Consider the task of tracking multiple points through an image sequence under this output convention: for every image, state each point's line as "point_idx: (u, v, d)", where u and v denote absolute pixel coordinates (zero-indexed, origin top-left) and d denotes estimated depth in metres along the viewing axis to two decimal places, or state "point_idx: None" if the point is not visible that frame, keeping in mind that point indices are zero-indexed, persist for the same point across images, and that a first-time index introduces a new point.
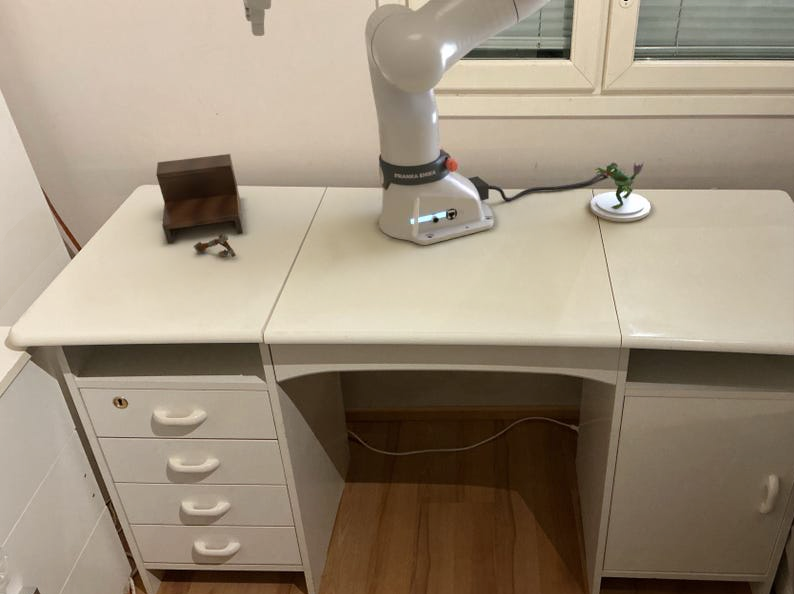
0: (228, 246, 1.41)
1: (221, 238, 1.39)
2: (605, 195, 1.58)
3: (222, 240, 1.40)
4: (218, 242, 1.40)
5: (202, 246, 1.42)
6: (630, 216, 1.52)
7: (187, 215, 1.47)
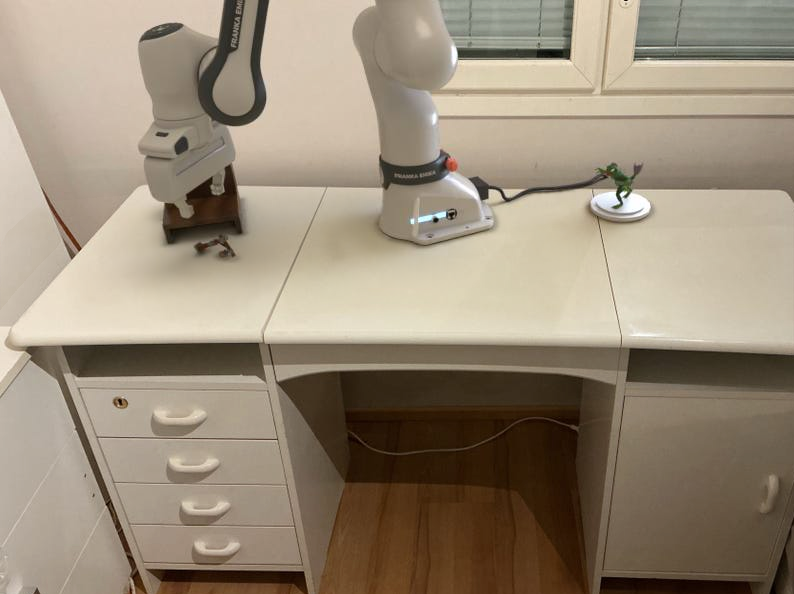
0: (228, 246, 1.41)
1: (221, 238, 1.39)
2: (605, 195, 1.58)
3: (222, 240, 1.40)
4: (218, 242, 1.40)
5: (202, 246, 1.42)
6: (630, 216, 1.52)
7: None
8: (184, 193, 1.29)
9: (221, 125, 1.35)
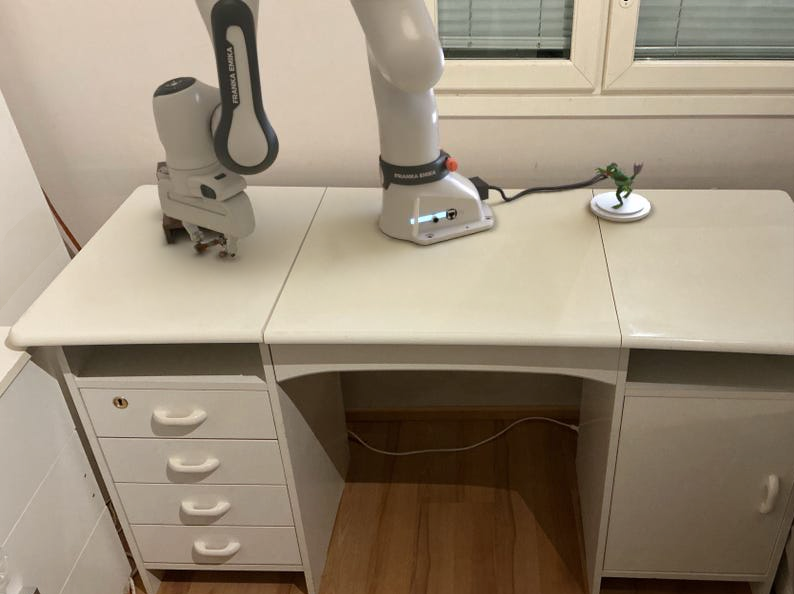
0: None
1: (221, 238, 1.39)
2: (605, 195, 1.58)
3: (222, 240, 1.40)
4: (218, 242, 1.40)
5: (202, 246, 1.42)
6: (630, 216, 1.52)
7: None
8: None
9: None
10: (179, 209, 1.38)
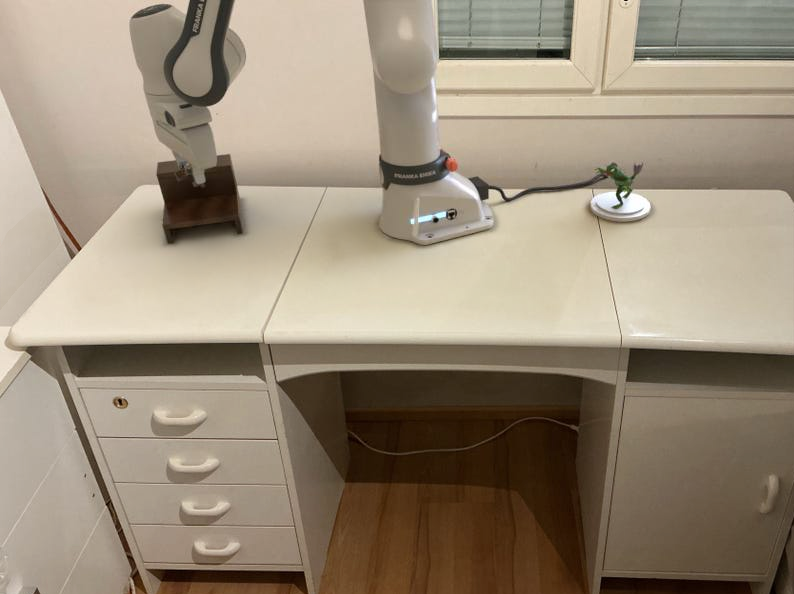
0: None
1: None
2: (605, 195, 1.58)
3: None
4: (191, 171, 1.44)
5: (181, 173, 1.47)
6: (630, 216, 1.52)
7: (187, 215, 1.47)
8: None
9: None
10: (164, 135, 1.43)
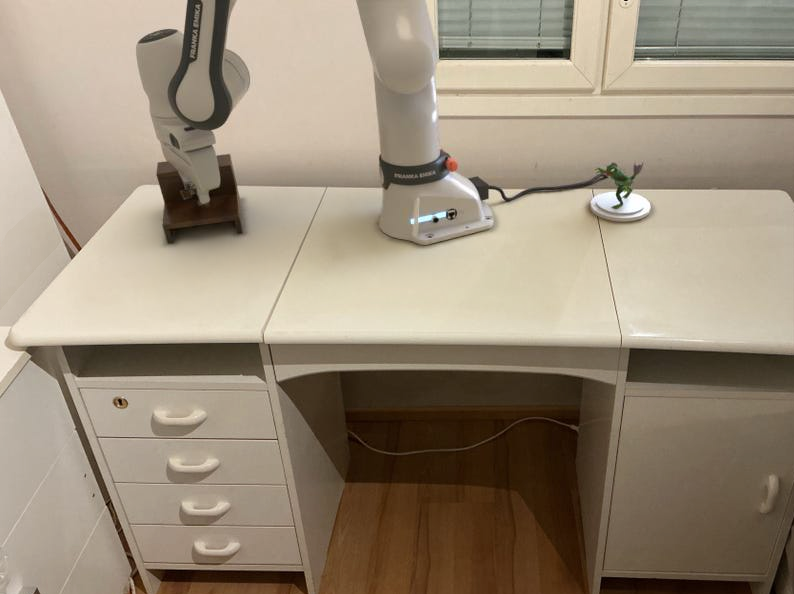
0: None
1: None
2: (605, 195, 1.58)
3: None
4: (196, 191, 1.47)
5: (186, 192, 1.50)
6: (630, 216, 1.52)
7: (187, 215, 1.47)
8: None
9: None
10: (170, 155, 1.46)
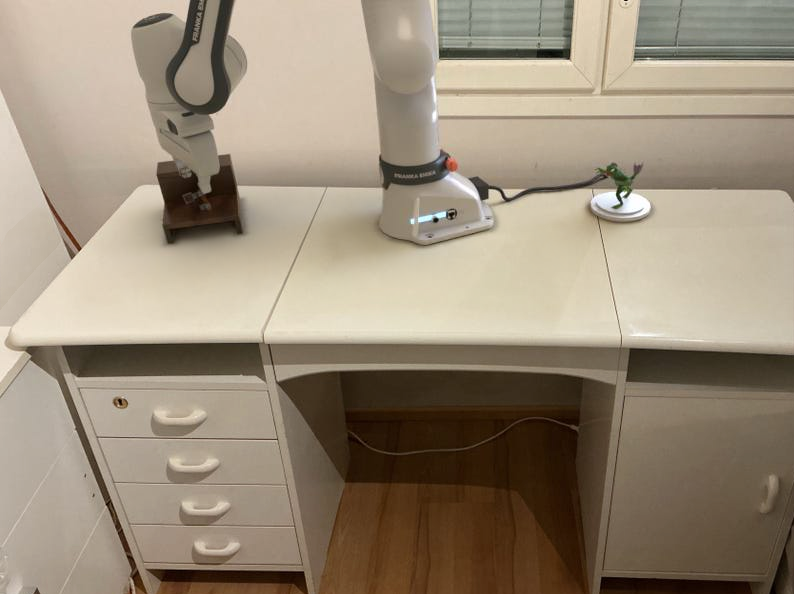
0: (205, 200, 1.47)
1: (199, 191, 1.46)
2: (605, 195, 1.58)
3: (200, 193, 1.46)
4: (198, 195, 1.47)
5: (189, 197, 1.50)
6: (630, 216, 1.52)
7: (187, 215, 1.47)
8: None
9: None
10: (166, 142, 1.44)
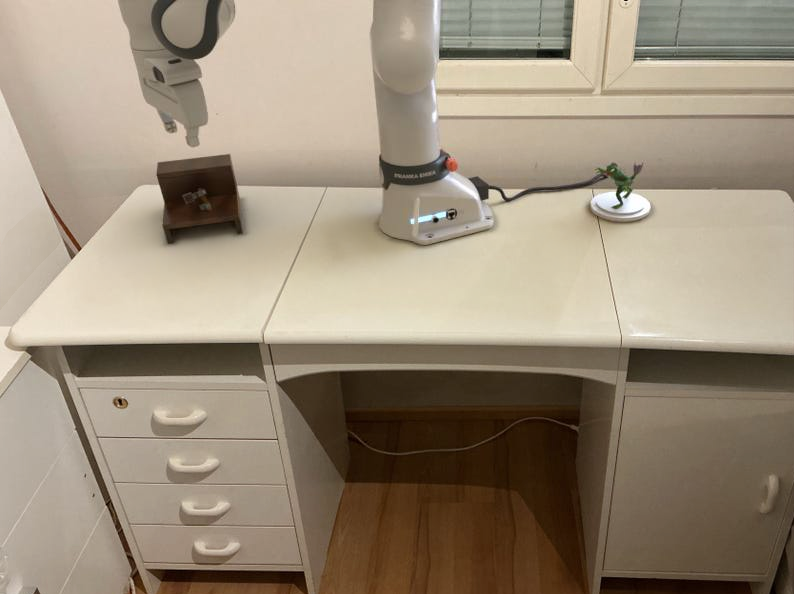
0: (205, 200, 1.47)
1: (199, 191, 1.46)
2: (605, 195, 1.58)
3: (200, 193, 1.46)
4: (198, 195, 1.47)
5: (189, 197, 1.50)
6: (630, 216, 1.52)
7: (187, 215, 1.47)
8: None
9: None
10: (152, 95, 1.39)
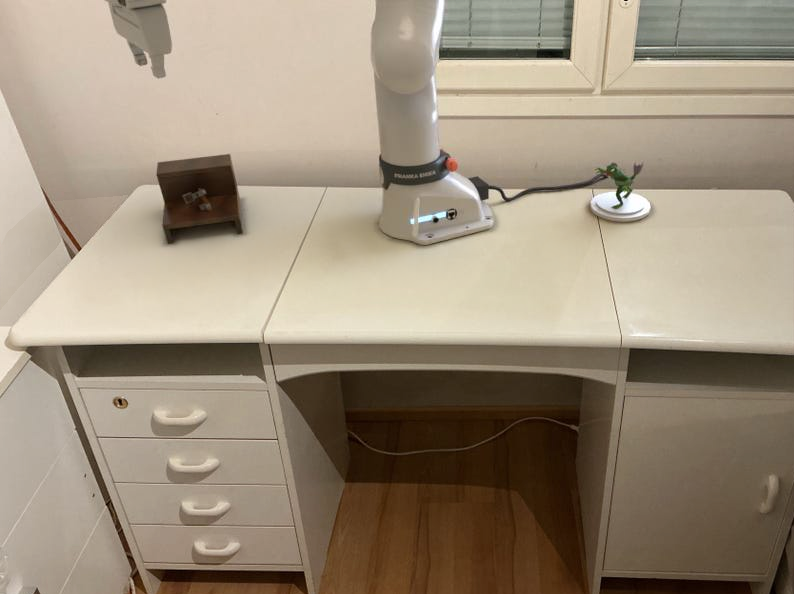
0: (205, 200, 1.47)
1: (199, 191, 1.46)
2: (605, 195, 1.58)
3: (200, 193, 1.46)
4: (198, 195, 1.47)
5: (189, 197, 1.50)
6: (630, 216, 1.52)
7: (187, 215, 1.47)
8: None
9: None
10: (120, 24, 1.35)
